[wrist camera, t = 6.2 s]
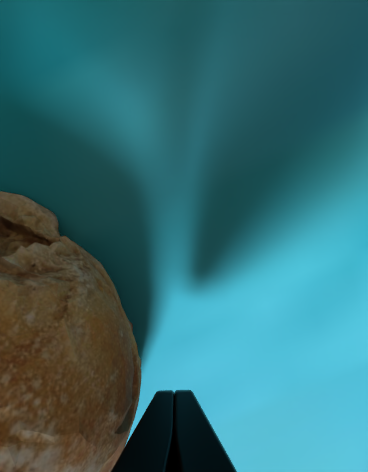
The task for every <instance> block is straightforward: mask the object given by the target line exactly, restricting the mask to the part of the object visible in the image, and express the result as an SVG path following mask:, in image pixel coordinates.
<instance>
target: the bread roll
mask: <svg viewBox="0 0 368 472" xmlns="http://www.w3.org/2000/svg"><path fill="white" fill-rule="evenodd" d="M58 224H59V223H58V220H57V218H56V215H55V214H54V213H53V212H51V211H50V210H48V209H47V208H45V207H43V206H41V205H39V204H38V203H36V202H34V201H33V200H31V199H29V198H28V197H26V196H23V195H19V194H13V193H8V192H2V191H0V472H111V470H112V468H113V467H114V465H115V463H116V461H117V460H118V458H119V456H120V455H121V453H122V451H123V449H124V447H125V445H126V442H127V439H128V436H129V433H130V430H131V427H132V424H133V421H134V418H135V414H136V410H137V407H138V402H139V395H140V386H141V359H140V358H139V355H138V349H137V344H136V341H135V337H134V335H133V326H132V323H131V322H130V321H129V320H128V318H127V316H126V314H125V312H124V310H123V308H122V305H121V301H120V298H119V295H118V293H117V291H116V288H115V286H114V284H113V282H112V280H111V279H110V277H109V275H108V274H107V272H106V270H105V269H104V267H103V265H102V264H101V263H100V262H99V261H98V260H97V259H95V258H94V257H93V256H92V255H91V254H89V253H88V252H87V251H86V250H84V249H83V248H82V247H80V246H79V245H78V244H76V243H75V242H73V241H71V240H70V239H69V238H68V237H66V236H60V234H59V231H58Z"/></svg>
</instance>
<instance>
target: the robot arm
mask: <svg viewBox="0 0 368 472" xmlns="http://www.w3.org/2000/svg"><path fill="white" fill-rule="evenodd" d="M111 472H237V471H236V469H235V467H234V466H233V464H232V462H231V460H230V458H229V457H228V455H227V453H226V451H225V449H224V448H223V446H222V444H221V442H220V440H219V439H218V437H217V435H216V433H215V431H214V430H213V428H212V426H211V424H210V422H209V421H208V419H207V417H206V415H205V413H204V412H203V410H202V408H201V406H200V404H199V403H198V401H197V399H196V397H195V395H194V393H193V392H192V391H191V390H176V391H175V394H174V392H173V391H172V390H165V391H157V392H156V394H155V395H154V397H153V399H152V401H151V402H150V404H149V406H148V408H147V409H146V411H145V413H144V415H143V416H142V418H141V420H140V421H139V423H138V425H137V427H136V428H135V430H134V432H133V434H132V435H131V437H130V439H129V441H128V442H127V444H126V446H125V448H124V449H123V451H122V453H121V455H120V456H119V458H118V460H117V461H116V463H115V465H114V467H113V468H112V470H111Z"/></svg>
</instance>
